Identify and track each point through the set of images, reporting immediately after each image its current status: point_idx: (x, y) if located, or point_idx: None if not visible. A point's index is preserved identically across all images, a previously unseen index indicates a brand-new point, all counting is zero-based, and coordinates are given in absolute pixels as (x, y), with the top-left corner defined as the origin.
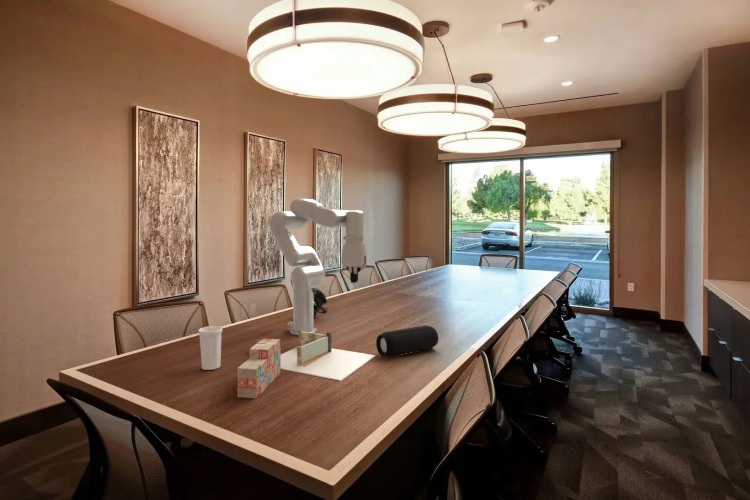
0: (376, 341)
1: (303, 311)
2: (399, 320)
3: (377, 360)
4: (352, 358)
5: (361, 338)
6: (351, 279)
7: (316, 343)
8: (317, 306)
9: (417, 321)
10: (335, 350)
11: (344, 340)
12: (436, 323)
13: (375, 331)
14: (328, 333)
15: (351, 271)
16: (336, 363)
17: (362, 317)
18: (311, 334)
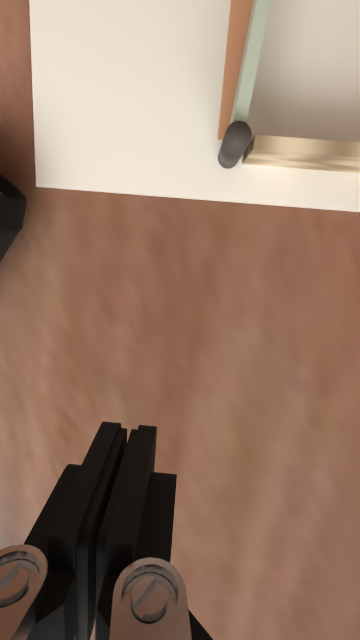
0: (14, 199)
1: None
2: None
3: (9, 140)
4: (100, 109)
5: (176, 373)
6: (138, 452)
7: (254, 10)
8: None
9: None
10: (207, 180)
11: (229, 327)
12: None
13: (162, 470)
14: (235, 121)
15: (111, 603)
16: (133, 16)
17: (276, 613)
18: (339, 142)
